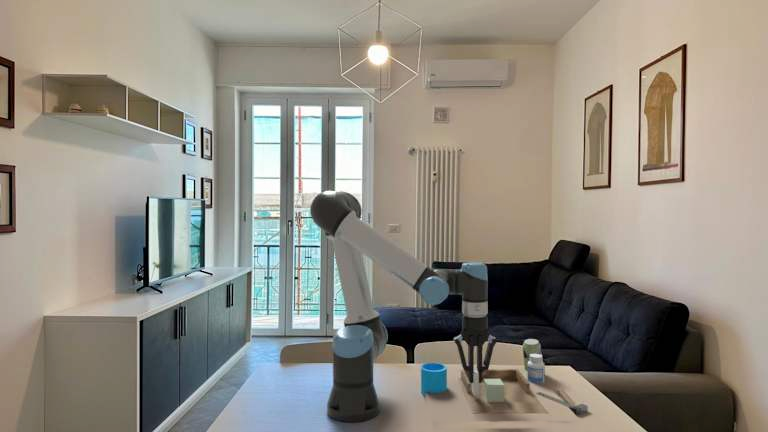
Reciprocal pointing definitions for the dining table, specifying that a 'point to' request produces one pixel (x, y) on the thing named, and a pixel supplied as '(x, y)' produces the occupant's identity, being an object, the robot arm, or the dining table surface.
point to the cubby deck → (514, 392)
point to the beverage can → (530, 350)
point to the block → (494, 390)
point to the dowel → (566, 397)
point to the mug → (433, 378)
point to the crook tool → (568, 405)
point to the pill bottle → (536, 369)
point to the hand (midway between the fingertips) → (475, 393)
